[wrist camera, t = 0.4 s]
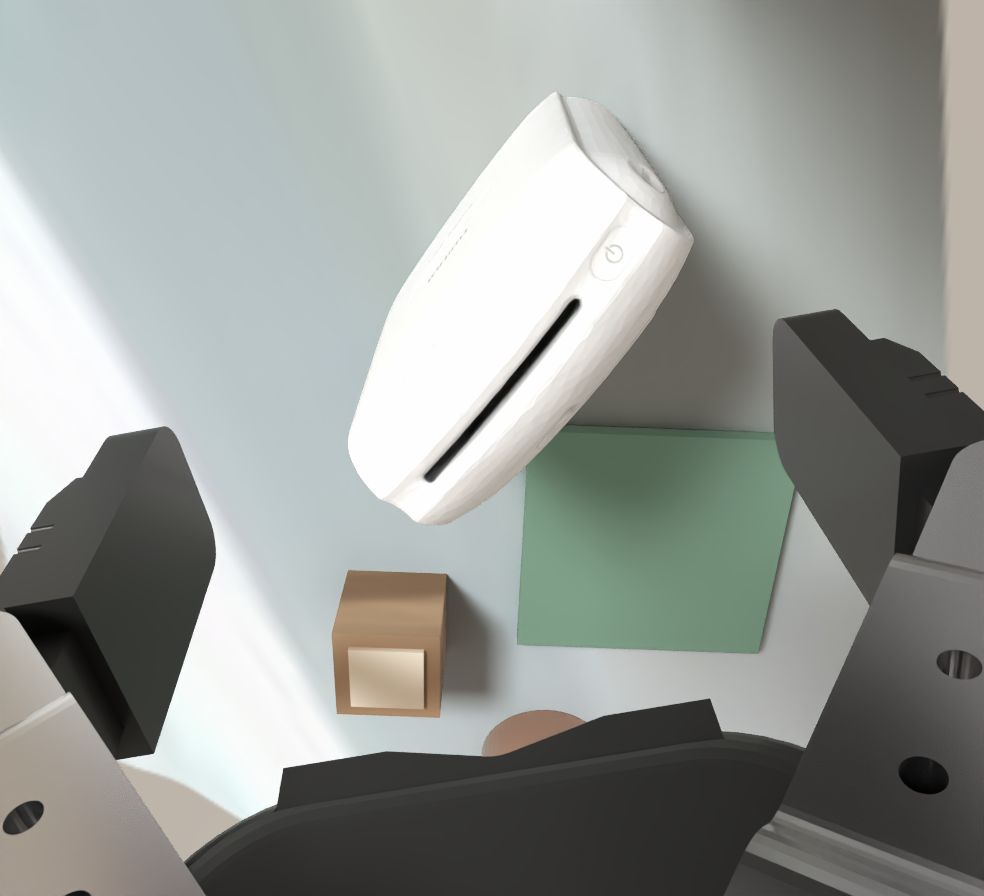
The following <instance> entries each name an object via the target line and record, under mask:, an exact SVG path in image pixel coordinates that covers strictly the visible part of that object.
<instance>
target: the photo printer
mask: <svg viewBox="0 0 984 896" xmlns="http://www.w3.org/2000/svg"><path fill="white" fill-rule="evenodd" d="M693 242H694V238H693V236H692V234H691V233H690V231H689V230H688V229H687V227H686V226H685V224H684V223H683V221H682V220H681V218H680V217H679V215H678V214H677V212H676V211H675V209H674V206H673V203H672V201H671V198H670V196H669V194H668V192H667V190H666V189H665V187H664V185H663V184H662V182H661V181H660V179H659V178H658V176H657V175H656V173H655V172H654V170H653V169H652V168H651V166H650V165H649V163H648V162H647V160H646V159H645V157H644V156H643V154H642V153H641V152H640V150H639V149H638V147H637V146H636V145H635V143H634V142H633V140H632V139H631V137H630V136H629V135H628V133H627V132H626V131H625V129H624V128H623V126H622V125H621V123H620V122H619V121H618V120H617V118H616V117H615V116H614V115H613V114H612V113H611V112H610V111H609V110H608V109H606V108H605V107H603V106H602V105H600V104H598V103H596V102H594V101H591V100H588V99H585V98H578V97H566V98H565V97H563V96H562V95H561V94H560V93H559V92H558V91H555V92H553V93H552V94H550V95H549V96H548V97H547V98H546V99H544V100H543V101H542V102H541V103H540V104H539V105H538V106H537V107H536V108H535V109H534V110H533V111H532V112H531V113H530V114H529V115H528V116H527V117H526V118H525V119H524V121H523V122H522V123H521V124H520V125H519V127H518V128H517V129H516V130H515V131H514V133H513V134H512V135H511V136H510V138H509V139H508V140H507V141H506V142H505V144H504V145H503V146H502V148H501V149H500V150H499V152H498V153H497V154H496V155H495V157H494V158H493V159H492V161H491V162H490V163H489V165H488V166H487V167H486V168H485V170H484V171H483V172H482V174H481V175H480V176H479V178H478V179H477V180H476V182H475V183H474V185H473V186H472V187H471V189H470V190H469V191H468V193H467V194H466V196H465V197H464V198H463V200H462V201H461V202H460V204H459V205H458V206H457V208H456V209H455V211H454V212H453V213H452V215H451V216H450V218H449V219H448V220H447V222H446V223H445V225H444V226H443V228H442V229H441V230H440V232H439V233H438V235H437V236H436V238H435V239H434V240H433V242H432V243H431V245H430V246H429V248H428V249H427V251H426V252H425V253H424V255H423V256H422V258H421V259H420V261H419V262H418V264H417V265H416V267H415V268H414V270H413V271H412V273H411V274H410V276H409V277H408V279H407V281H406V282H405V284H404V285H403V287H402V288H401V290H400V292H399V294H398V295H397V297H396V299H395V301H394V303H393V305H392V307H391V309H390V312H389V314H388V316H387V319H386V322H385V325H384V328H383V331H382V334H381V337H380V339H379V342H378V345H377V348H376V351H375V354H374V357H373V360H372V364H371V367H370V370H369V373H368V376H367V379H366V382H365V385H364V388H363V391H362V394H361V398H360V401H359V404H358V407H357V411H356V414H355V417H354V420H353V423H352V426H351V429H350V433H349V437H348V448H349V453H350V456H351V459H352V462H353V464H354V466H355V468H356V471H357V472H358V474H359V475H360V477H361V478H362V480H363V481H364V482H365V484H366V485H367V486H368V487H369V488H370V490H371V491H372V492H373V493H374V494H375V495H376V496H377V497H378V498H379V499H381V500H384V501H387V502H389V503H392V504H393V505H395V506H397V507H398V508H400V509H402V510H403V511H404V512H405V513H407V514H408V515H409V516H410V517H411V518H412V519H413V520H414V521H415V522H417V523H421V524H426V525H444V524H448V523H450V522H452V521H454V520H456V519H457V518H459V517H461V516H462V515H464V514H466V513H468V512H469V511H471V510H473V509H474V508H476V507H477V506H479V505H480V504H481V503H483V502H484V501H486V500H488V499H489V498H490V497H491V496H493V495H494V494H495V493H497V492H498V491H499V490H500V489H501V488H502V487H504V486H505V485H506V484H507V483H508V482H509V481H510V480H511V479H512V478H513V477H515V476H516V475H517V474H518V473H519V472H520V471H521V470H522V469H523V468H524V467H525V466H526V465H527V464H528V463H529V462H530V461H531V460H532V459H533V458H534V457H535V456H536V455H537V454H538V453H539V452H540V451H541V450H542V449H543V448H544V447H545V446H546V445H547V444H548V443H549V442H550V441H551V440H552V439H553V437H554V436H555V435H556V434H557V433H558V432H559V431H560V430H561V429H562V428H563V427H564V426H565V425H566V423H567V422H568V421H569V420H570V419H571V418H572V417H573V416H574V415H575V413H576V412H577V411H578V410H579V409H580V408H581V407H582V406H583V405H584V404H585V402H586V401H587V400H588V399H589V398H590V397H591V395H592V394H593V393H594V392H595V391H596V389H597V388H598V387H599V386H600V385H601V384H602V382H603V381H604V380H605V379H606V378H607V376H608V375H609V374H610V373H611V372H612V370H613V369H614V368H615V367H616V365H617V364H618V363H619V361H620V360H621V359H622V357H623V356H624V355H625V354H626V353H627V352H628V350H629V349H630V347H631V346H632V345H633V343H634V342H635V341H636V340H637V338H638V337H639V336H640V334H641V333H642V332H643V330H644V329H645V328H646V326H647V325H648V324H649V323H650V321H651V320H652V318H653V317H654V315H655V313H656V311H657V308H658V307H659V305H660V304H661V302H662V301H663V299H664V298H665V297H666V295H667V293H668V292H669V290H670V288H671V287H672V285H673V283H674V281H675V280H676V278H677V276H678V274H679V272H680V270H681V269H682V267H683V265H684V263H685V261H686V258H687V256H688V254H689V252H690V250H691V247H692V245H693Z"/></svg>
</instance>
